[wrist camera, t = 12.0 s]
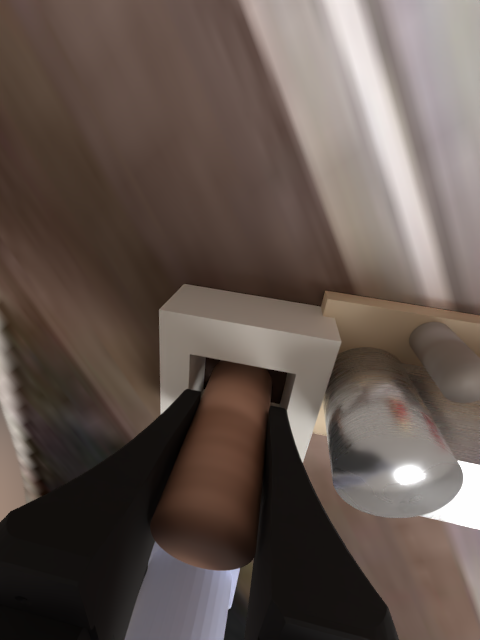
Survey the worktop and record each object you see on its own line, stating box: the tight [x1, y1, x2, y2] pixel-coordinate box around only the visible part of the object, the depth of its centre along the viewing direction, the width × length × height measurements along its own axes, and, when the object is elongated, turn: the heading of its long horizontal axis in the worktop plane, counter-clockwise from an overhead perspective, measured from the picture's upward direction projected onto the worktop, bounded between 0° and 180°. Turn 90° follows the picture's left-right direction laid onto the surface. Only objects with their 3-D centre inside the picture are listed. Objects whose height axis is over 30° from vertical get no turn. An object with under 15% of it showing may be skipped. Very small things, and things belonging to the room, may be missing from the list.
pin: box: [150, 360, 272, 571], centre depth 11 cm, size 3×3×7 cm
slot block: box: [159, 284, 341, 463], centre depth 14 cm, size 8×7×3 cm
